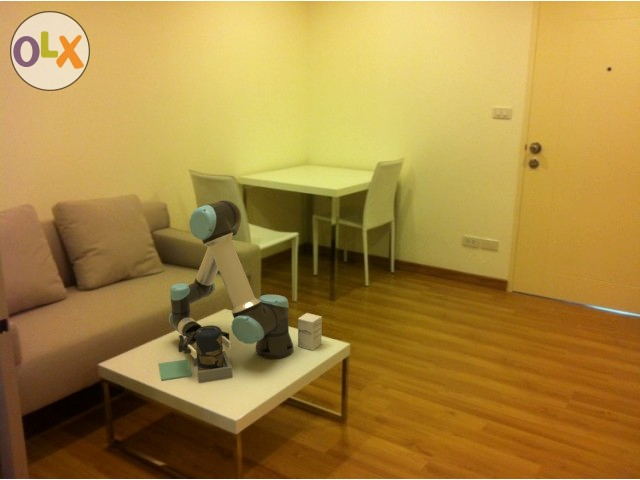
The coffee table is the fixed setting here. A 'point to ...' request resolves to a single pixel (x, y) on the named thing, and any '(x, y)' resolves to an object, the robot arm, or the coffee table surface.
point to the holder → (215, 371)
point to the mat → (175, 370)
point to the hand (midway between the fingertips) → (213, 350)
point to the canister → (209, 348)
